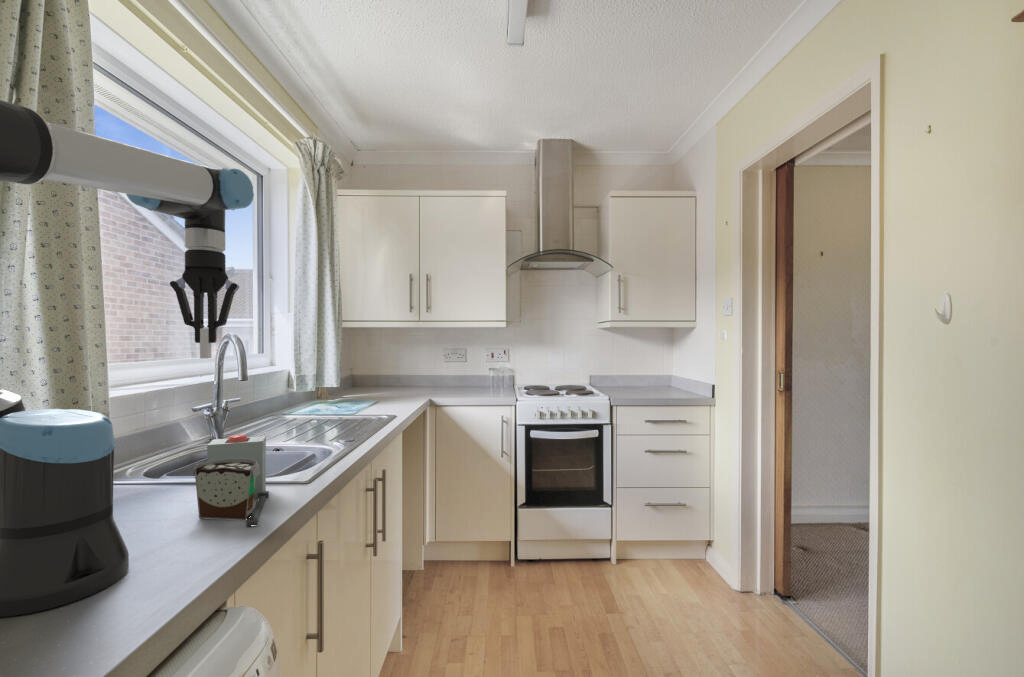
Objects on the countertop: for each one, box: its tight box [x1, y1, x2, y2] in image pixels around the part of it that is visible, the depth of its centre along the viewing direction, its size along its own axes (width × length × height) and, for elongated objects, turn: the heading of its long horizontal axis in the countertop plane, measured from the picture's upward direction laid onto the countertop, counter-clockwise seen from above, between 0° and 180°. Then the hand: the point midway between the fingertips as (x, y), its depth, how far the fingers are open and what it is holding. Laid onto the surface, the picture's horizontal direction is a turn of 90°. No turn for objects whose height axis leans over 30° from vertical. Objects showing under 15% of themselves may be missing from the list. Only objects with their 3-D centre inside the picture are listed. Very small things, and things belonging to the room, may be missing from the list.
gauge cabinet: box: [206, 435, 267, 500], centre depth 99 cm, size 10×6×12 cm, turn 111°
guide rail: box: [245, 490, 270, 527], centre depth 92 cm, size 2×17×1 cm, turn 22°
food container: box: [191, 458, 260, 521], centre depth 90 cm, size 12×6×10 cm, turn 85°
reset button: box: [227, 434, 248, 443], centre depth 100 cm, size 3×3×2 cm
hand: (205, 357), depth 104 cm, fingers closed
